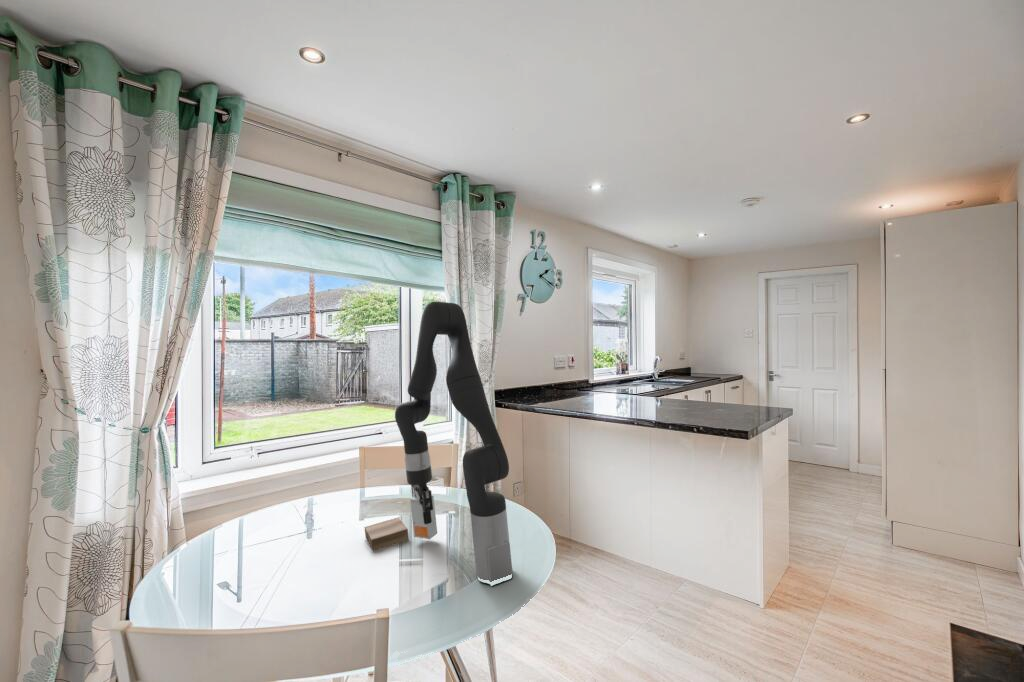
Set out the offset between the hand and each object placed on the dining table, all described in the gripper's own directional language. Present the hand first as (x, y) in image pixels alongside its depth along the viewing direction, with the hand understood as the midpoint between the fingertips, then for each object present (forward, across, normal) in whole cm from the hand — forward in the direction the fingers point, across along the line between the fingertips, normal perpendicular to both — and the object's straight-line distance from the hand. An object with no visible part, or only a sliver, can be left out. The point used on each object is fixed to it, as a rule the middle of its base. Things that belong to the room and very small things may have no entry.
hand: (424, 519), depth 139 cm
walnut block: (+7, +10, +10) cm, 16 cm away
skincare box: (+5, 0, 0) cm, 5 cm away
